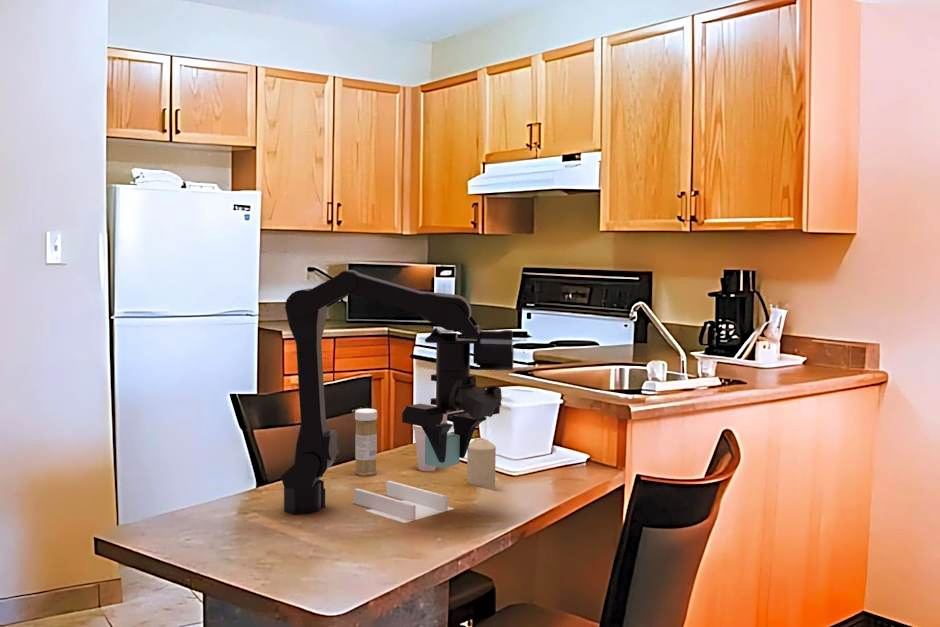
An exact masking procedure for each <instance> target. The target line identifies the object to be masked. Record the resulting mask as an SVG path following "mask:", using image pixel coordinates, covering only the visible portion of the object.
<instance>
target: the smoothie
mask: <svg viewBox="0 0 940 627" xmlns="http://www.w3.org/2000/svg"><path fill="white" fill-rule="evenodd" d="M425 404H426V403H425ZM426 405H428V404H426ZM412 430H413V431H414V432H413V433H414V441H415V450H416V459H417V460H416V461H417V467H418V468H417V469H418V471H421V472H434V471H436V470H437V467H435V466H430V465H425V436H426V434H425V432H424V430H423V428H422V427H421V426H417V425H412Z"/></svg>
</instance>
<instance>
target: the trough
mask: <svg viewBox="0 0 940 627" xmlns="http://www.w3.org/2000/svg"><path fill="white" fill-rule="evenodd" d="M385 486H386V487H385V490H386V495H382V494H378V493H374V492H372V491H368V490H364V489H361V488H359V487H358V488H353V504H355V505H359V506H361V507H365V508H369V509H367V510H366V509H365V510H364V512H367V513H370V514H374V515H377V516H381V517H384V518H387V519H389V520H393V521H397V522H400V523H403V524H406V523H410V522H414V521H417V520H420V519H424V518H428V517H431V516H434V515H438V514H442V513H445V512H447V511H451V510H454V509H455V508H454V507H451V506H449V496H448V495H444V494H440V493H437V492H434V491H430V490H426V489H422V488H419V487H414V486H411V485H407V484H404V483H400V482H396V481H393V480H387V481H386V485H385ZM388 496H389V497H388ZM392 497H393V498H392Z"/></svg>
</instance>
